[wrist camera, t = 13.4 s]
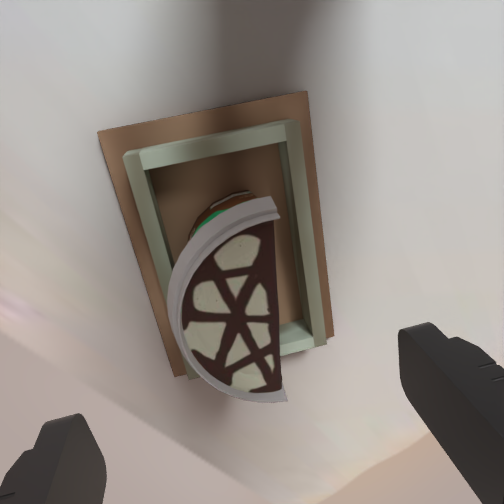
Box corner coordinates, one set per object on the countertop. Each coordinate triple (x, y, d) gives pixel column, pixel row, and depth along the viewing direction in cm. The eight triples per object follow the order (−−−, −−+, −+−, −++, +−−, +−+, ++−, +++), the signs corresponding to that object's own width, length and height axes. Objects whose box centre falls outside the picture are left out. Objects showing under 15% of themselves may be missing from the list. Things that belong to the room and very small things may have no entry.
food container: (157, 177, 27) (147, 221, 18) (246, 168, 28) (279, 206, 19) (181, 331, 32) (183, 427, 23) (257, 319, 33) (288, 408, 24)
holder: (303, 91, 28) (320, 90, 24) (331, 331, 36) (346, 354, 32) (99, 130, 26) (88, 136, 23) (174, 370, 34) (174, 399, 31)
